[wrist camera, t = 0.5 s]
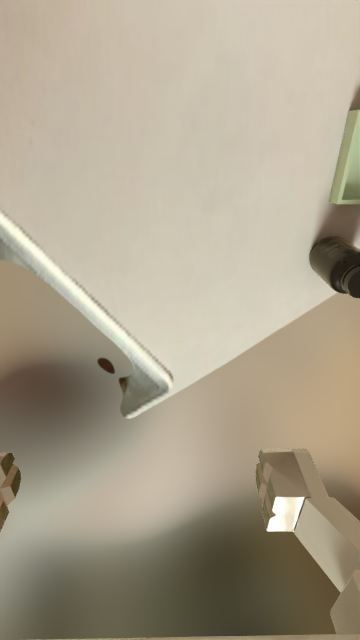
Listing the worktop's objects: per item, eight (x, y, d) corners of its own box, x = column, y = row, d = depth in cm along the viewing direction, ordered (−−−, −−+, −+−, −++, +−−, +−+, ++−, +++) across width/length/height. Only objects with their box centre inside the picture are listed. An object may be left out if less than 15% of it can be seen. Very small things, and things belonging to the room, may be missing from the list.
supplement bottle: (304, 273, 57) (333, 304, 46) (313, 235, 53) (347, 259, 43) (342, 274, 57) (379, 305, 46) (353, 236, 53) (396, 260, 43)
